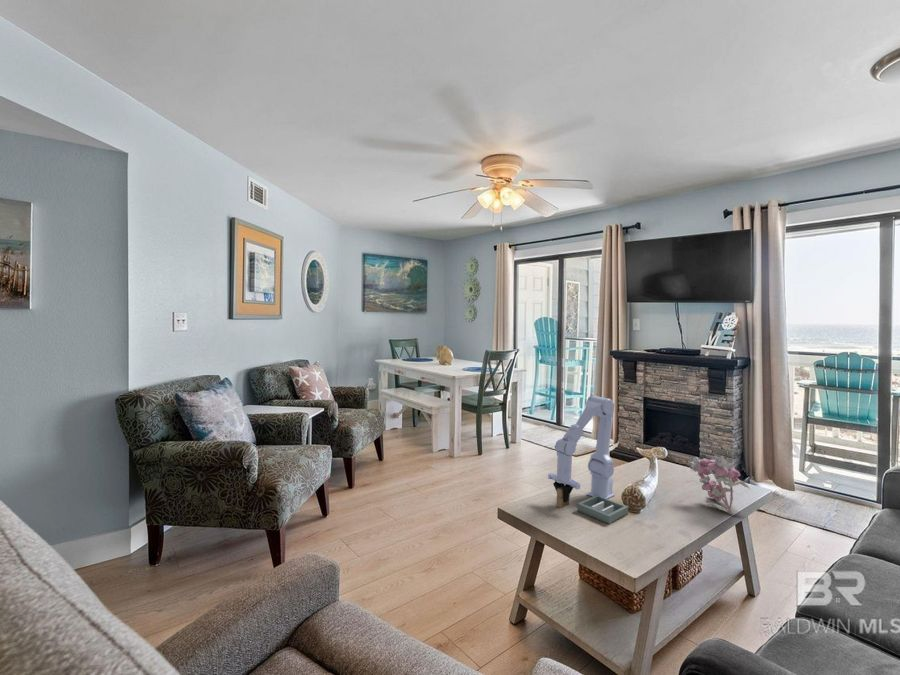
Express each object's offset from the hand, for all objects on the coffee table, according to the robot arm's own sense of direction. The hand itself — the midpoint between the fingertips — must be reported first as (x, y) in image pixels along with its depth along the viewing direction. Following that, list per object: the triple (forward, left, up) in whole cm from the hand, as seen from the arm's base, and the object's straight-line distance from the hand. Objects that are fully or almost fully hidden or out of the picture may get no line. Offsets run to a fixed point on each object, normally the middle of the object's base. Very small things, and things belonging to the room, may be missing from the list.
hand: (563, 500), depth 183 cm
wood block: (0, 0, -2) cm, 2 cm away
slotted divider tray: (-7, +14, -2) cm, 16 cm away
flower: (-54, +39, -2) cm, 67 cm away
